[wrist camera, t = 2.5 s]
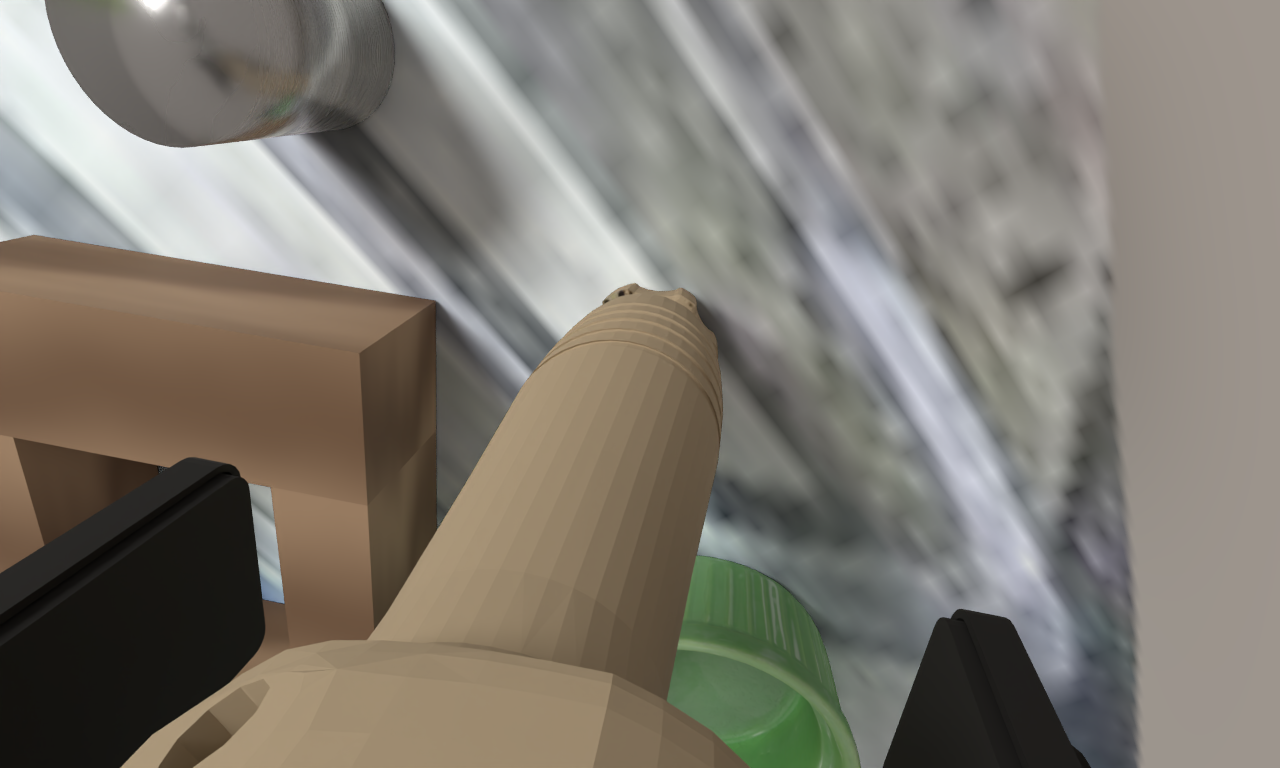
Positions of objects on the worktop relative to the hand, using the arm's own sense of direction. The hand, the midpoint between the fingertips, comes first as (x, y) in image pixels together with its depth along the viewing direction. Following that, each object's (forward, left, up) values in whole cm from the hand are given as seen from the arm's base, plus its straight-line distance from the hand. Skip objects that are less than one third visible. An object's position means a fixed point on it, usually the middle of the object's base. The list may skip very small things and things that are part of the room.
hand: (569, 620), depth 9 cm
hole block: (+8, -12, -10) cm, 17 cm away
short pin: (-6, -9, -10) cm, 15 cm away
